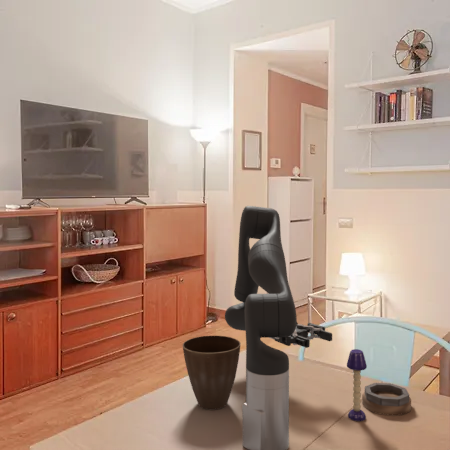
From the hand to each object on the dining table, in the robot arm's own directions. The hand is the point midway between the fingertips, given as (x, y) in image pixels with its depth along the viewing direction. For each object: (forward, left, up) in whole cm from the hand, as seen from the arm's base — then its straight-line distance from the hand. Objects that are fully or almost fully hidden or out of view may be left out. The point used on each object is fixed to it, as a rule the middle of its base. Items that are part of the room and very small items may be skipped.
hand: (320, 340), depth 132 cm
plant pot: (-23, +16, -16) cm, 33 cm away
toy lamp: (0, -12, -16) cm, 20 cm away
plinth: (+12, -12, -16) cm, 23 cm away
